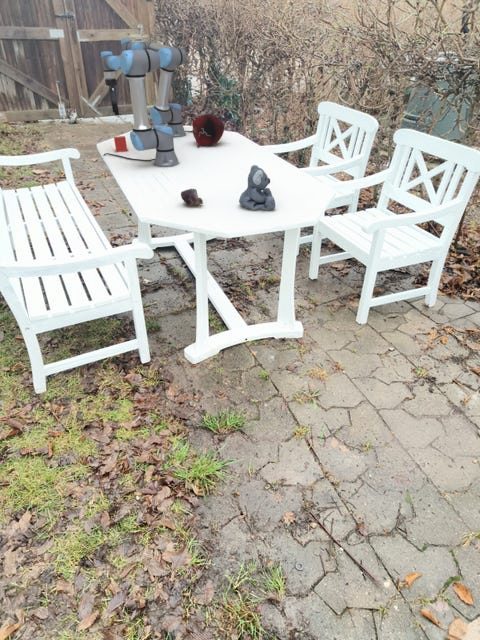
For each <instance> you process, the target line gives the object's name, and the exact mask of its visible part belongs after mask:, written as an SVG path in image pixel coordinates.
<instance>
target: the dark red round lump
mask: <svg viewBox="0 0 480 640" xmlns="http://www.w3.org/2000/svg"><path fill="white" fill-rule="evenodd" d="M190 119H191V121H192V131H193V132H192V135H193V138H194V140H195V142H196V144H197V149H199V148H200V146H214V145H215V144H217V143H219V141H220V140H221V139H222V137H223V134H224V133H225V125H224V123H223V122H222V120H221V119H219V118H218V117H217V115H214V114H208V113H206V114H202V115H200V116H199V117H197V118H196V119H195V118H193V117H192V116H191V117H190Z"/></svg>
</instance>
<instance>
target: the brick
mask: <svg viewBox="0 0 480 640" xmlns="http://www.w3.org/2000/svg"><path fill="white" fill-rule="evenodd" d="M113 141H114V146H115V152H116V153H120V152H121V153H123V152H128V145H127V139H126V136H125V135H121V136H113Z"/></svg>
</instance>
